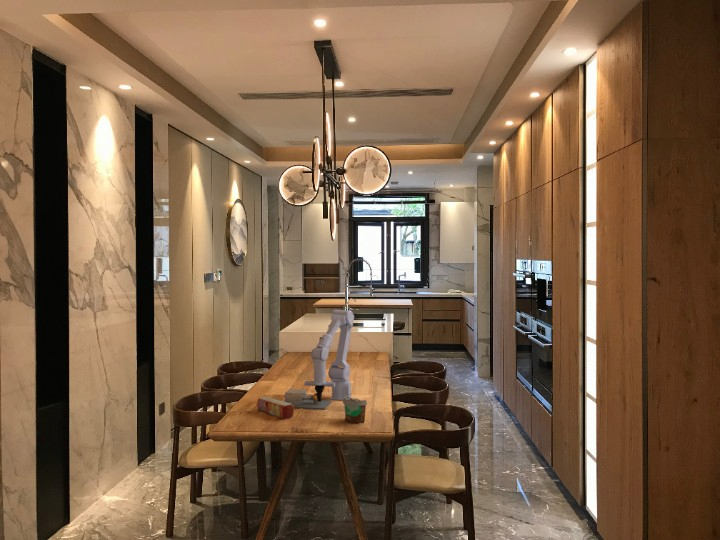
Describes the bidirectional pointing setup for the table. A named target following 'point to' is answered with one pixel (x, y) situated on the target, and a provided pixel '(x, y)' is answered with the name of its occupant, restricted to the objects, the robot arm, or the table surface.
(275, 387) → the table surface
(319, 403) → the slate base board
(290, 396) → the bearing housing
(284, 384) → the table surface
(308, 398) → the steel shaft
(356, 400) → the food container
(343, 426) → the table surface
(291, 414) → the snack package
